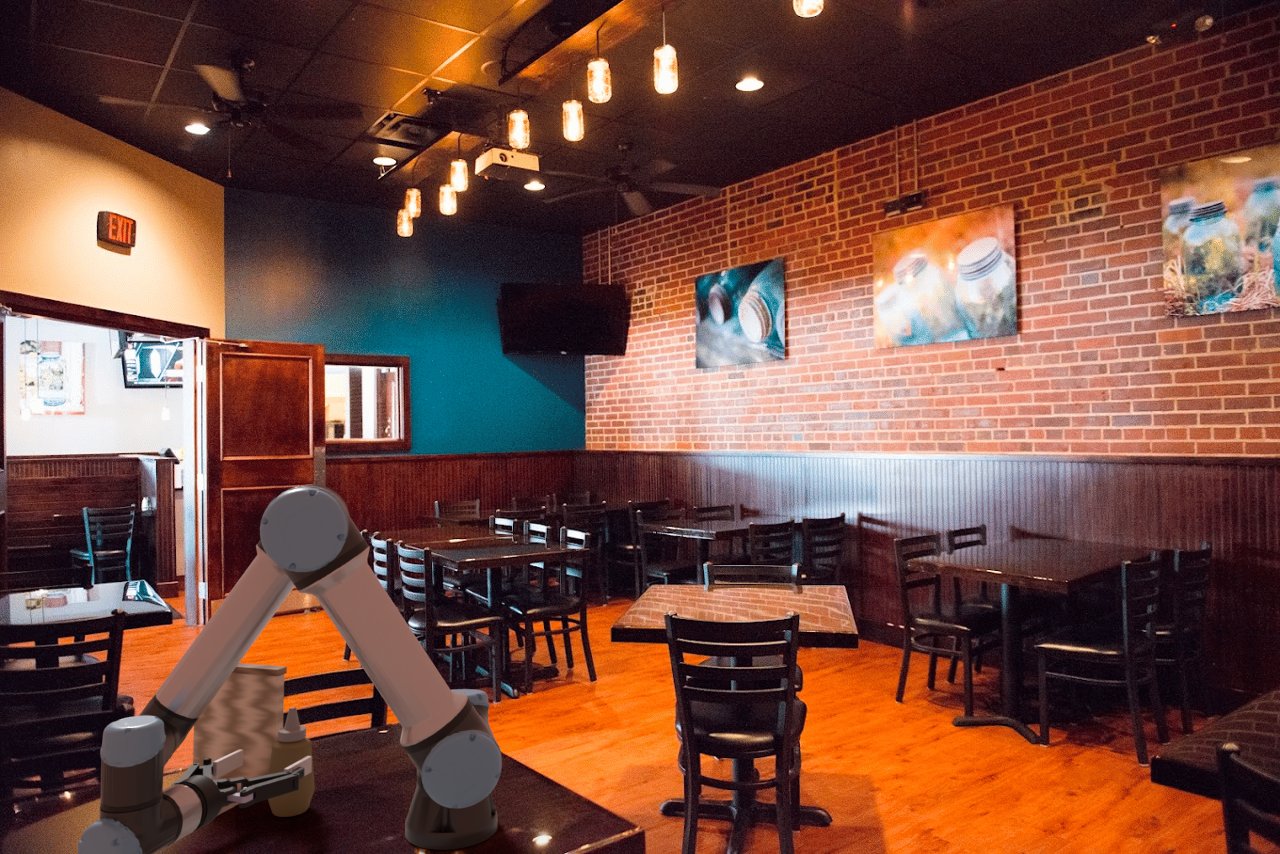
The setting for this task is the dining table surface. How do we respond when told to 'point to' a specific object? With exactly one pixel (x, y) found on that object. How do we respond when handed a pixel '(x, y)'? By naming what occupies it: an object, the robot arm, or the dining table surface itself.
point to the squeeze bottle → (285, 754)
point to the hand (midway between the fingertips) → (275, 760)
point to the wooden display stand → (243, 721)
